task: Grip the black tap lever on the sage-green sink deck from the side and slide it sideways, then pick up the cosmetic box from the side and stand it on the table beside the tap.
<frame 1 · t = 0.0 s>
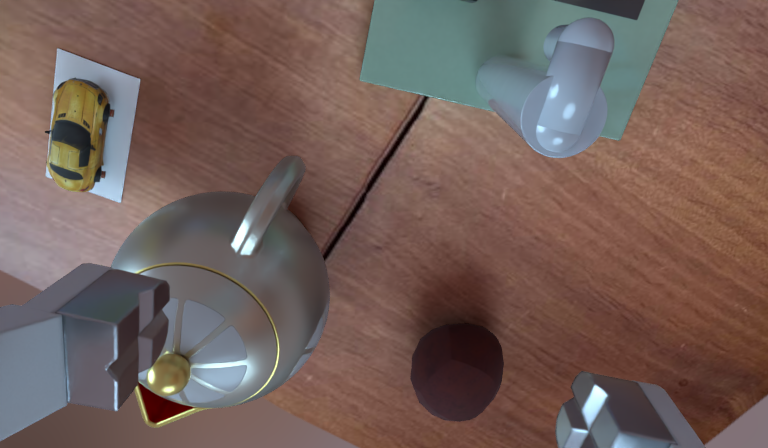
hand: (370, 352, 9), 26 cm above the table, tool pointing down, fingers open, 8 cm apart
potato: (452, 345, 41), on the table
teapot: (268, 230, 38), on the table
toy car: (92, 129, 35), on the table
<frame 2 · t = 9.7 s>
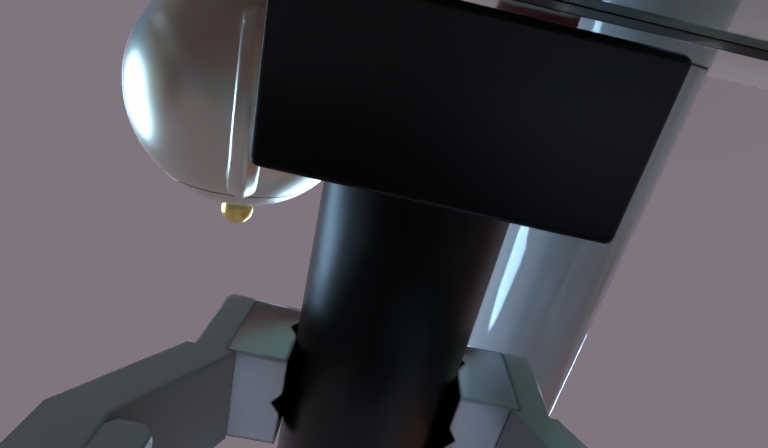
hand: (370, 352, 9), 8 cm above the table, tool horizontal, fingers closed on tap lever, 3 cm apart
tap lever: (363, 402, 9), point 8 cm above the table, slide at 0.0 cm, touching gripper
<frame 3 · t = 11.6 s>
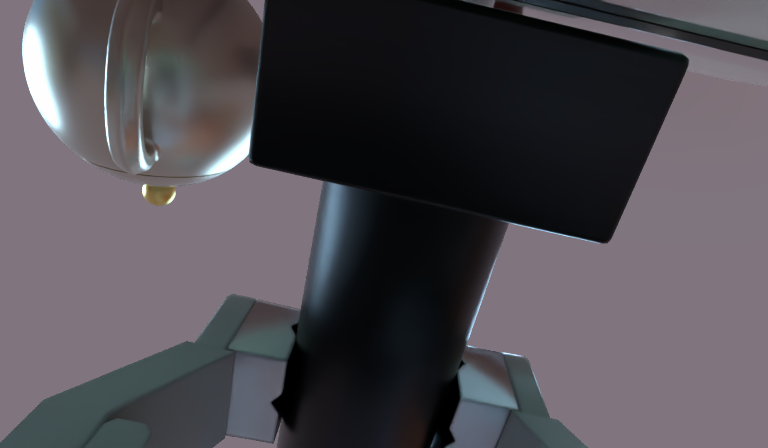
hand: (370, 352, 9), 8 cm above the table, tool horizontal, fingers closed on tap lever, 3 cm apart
tap lever: (363, 402, 9), point 8 cm above the table, slide at 5.4 cm, touching gripper
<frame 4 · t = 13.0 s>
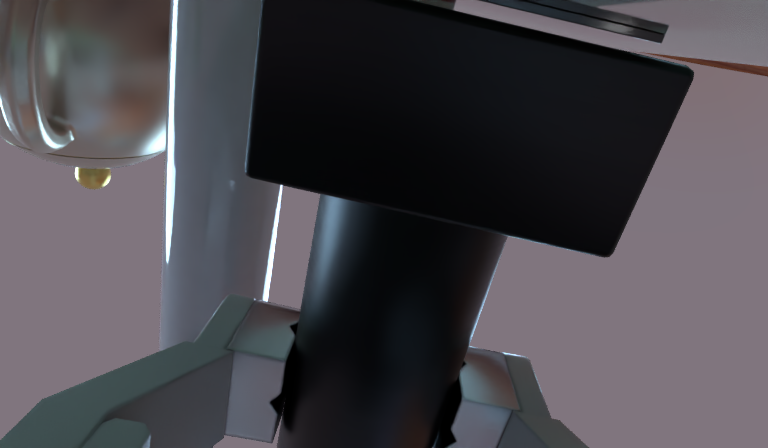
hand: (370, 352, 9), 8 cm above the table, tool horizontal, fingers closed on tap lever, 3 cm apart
tap lever: (362, 409, 9), point 8 cm above the table, slide at 9.9 cm, touching gripper
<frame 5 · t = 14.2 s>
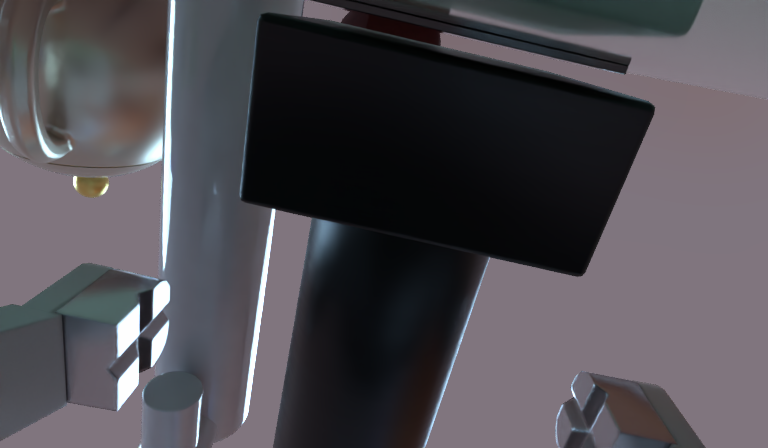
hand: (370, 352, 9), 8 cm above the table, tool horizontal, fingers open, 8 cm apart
tap lever: (354, 417, 9), point 8 cm above the table, slide at 9.9 cm
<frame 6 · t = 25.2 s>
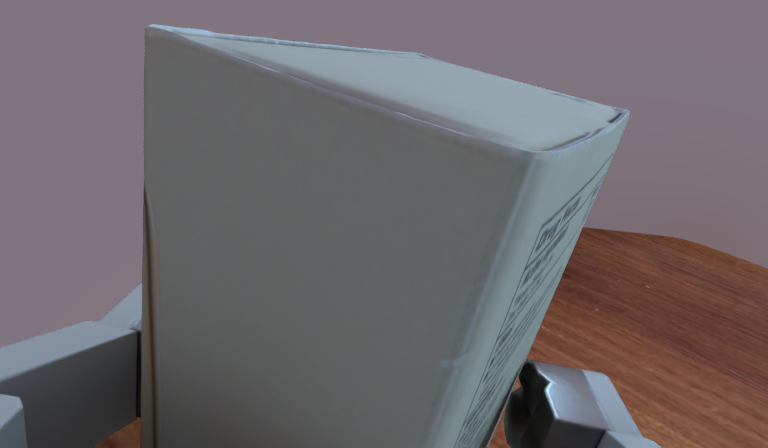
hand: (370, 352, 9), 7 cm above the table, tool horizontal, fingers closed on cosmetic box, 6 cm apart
when the fingers open (7 cm above the table, at t = 32.7 s): cosmetic box stays where it is, on the table.
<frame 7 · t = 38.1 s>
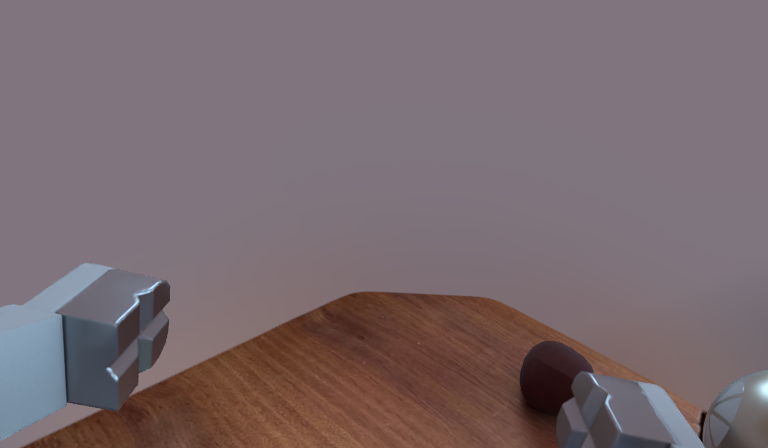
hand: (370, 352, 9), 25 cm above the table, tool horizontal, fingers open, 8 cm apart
potato: (546, 403, 48), on the table
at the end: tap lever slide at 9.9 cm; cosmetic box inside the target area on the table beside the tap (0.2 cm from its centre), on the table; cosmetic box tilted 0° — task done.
